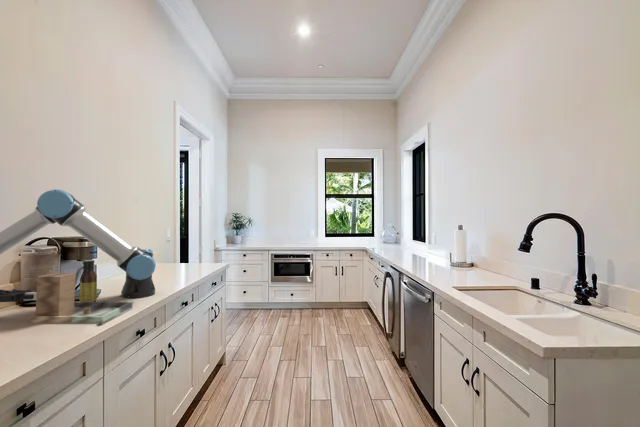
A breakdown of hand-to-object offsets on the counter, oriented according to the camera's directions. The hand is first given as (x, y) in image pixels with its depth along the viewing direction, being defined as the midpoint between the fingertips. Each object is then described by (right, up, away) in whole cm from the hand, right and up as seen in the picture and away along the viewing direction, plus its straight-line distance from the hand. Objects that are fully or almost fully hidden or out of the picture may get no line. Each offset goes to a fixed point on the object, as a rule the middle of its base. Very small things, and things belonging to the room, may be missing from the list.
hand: (44, 296), depth 119 cm
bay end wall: (+24, -9, +1) cm, 26 cm away
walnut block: (+4, -8, 0) cm, 9 cm away
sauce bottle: (+1, -10, +22) cm, 24 cm away
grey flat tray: (+12, -9, +5) cm, 16 cm away
